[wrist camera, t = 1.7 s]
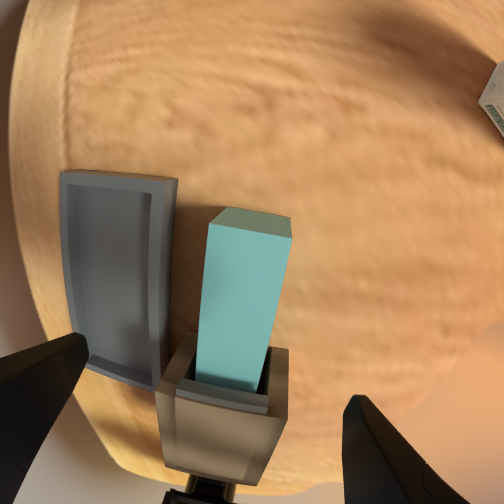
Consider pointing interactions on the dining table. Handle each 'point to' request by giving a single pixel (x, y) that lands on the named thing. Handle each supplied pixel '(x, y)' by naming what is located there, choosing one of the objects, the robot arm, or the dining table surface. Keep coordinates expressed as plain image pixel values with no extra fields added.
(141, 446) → the dining table surface
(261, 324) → the teal long block
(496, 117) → the syrup box
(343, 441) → the robot arm
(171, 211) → the tray
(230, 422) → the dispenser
